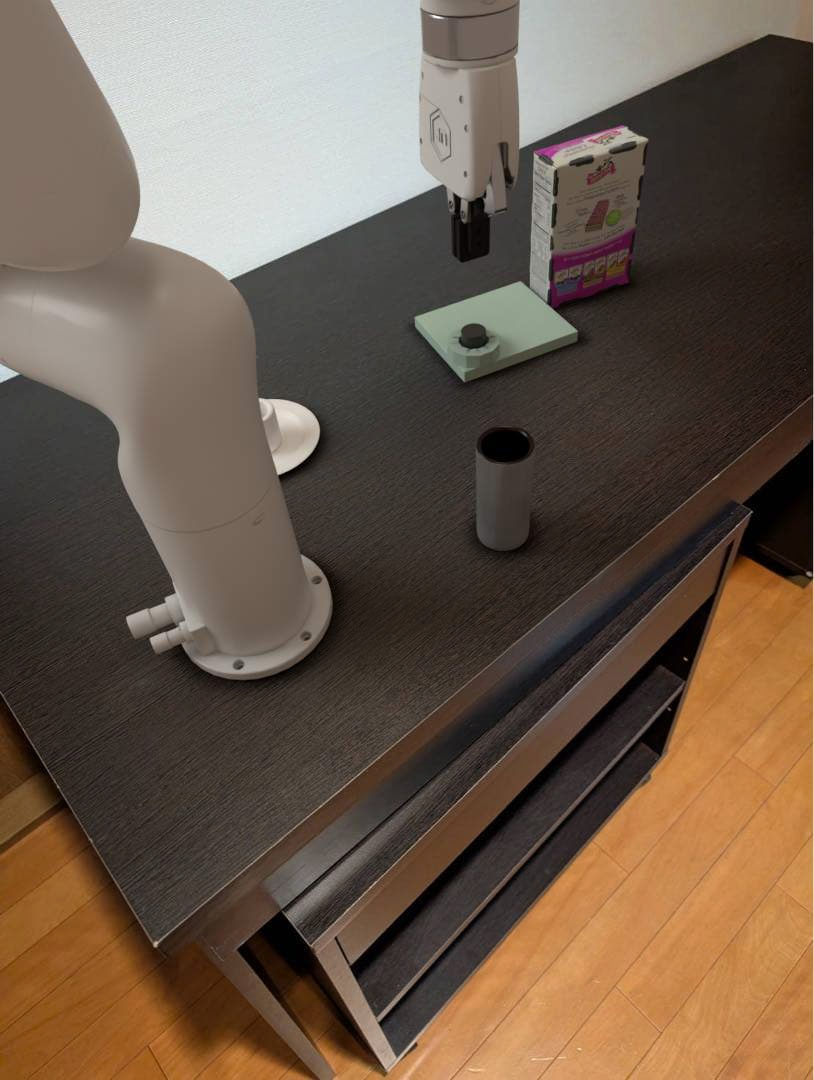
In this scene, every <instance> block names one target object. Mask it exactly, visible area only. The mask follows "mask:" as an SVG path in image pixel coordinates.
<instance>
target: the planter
mask: <svg viewBox="0 0 814 1080" xmlns="http://www.w3.org/2000/svg"><path fill="white" fill-rule="evenodd" d="M535 453H536V442H535V440H534V437H533V436H532V434H530V432H528V431H527V430H525V429H523V428H521V427H519V426H515V425H509V424H503V425H502V424H500V425H496V426H492V427H489V428H487V429H486V430H484V431H482V432H481V433H480V435H479V436H478V437H477V440H476V442H475V499H476V502H475V507H476V509H475V511H476V512H475V513H476V514H475V515H476V534H477V535H476V536H477V538H478V539H479V541H480V542H481V543H482V544H483V545H484V546H485V547H486V548H489V549H491V550H494V551H499V552H508V551H512V550H515V549H518V548H520V547H521V546H523V544H524V543H525V542H526V541H527V539H528V538H529V534H530V526H531V510H532V496H533V484H534V483H533V482H534V467H535V456H536V455H535Z"/></svg>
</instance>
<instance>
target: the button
mask: <svg viewBox="0 0 814 1080" xmlns="http://www.w3.org/2000/svg"><path fill="white" fill-rule="evenodd" d="M461 344H462V346H463V347H465V348H468V349H478V348H481V347H484V346H485V344H486V328H485V327H484V326H483V325H481V324H477V323H472V324H467V325H465V326H464V327H463V328H462V329H461Z"/></svg>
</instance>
